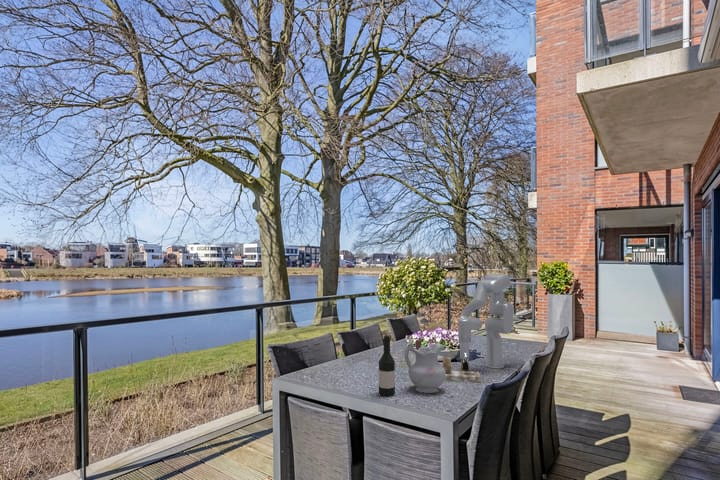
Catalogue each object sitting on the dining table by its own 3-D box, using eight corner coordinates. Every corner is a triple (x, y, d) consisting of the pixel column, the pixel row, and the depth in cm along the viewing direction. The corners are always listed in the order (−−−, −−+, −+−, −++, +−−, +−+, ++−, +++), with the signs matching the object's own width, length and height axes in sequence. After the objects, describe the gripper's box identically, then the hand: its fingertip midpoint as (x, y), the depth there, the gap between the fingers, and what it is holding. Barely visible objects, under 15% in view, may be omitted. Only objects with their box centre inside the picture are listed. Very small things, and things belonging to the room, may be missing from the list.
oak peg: (468, 373, 261) (468, 353, 261) (469, 375, 256) (469, 355, 257) (460, 372, 262) (460, 353, 262) (461, 374, 257) (461, 354, 258)
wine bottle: (377, 392, 223) (377, 334, 225) (393, 391, 224) (393, 333, 225) (379, 397, 215) (379, 336, 216) (396, 396, 215) (396, 336, 217)
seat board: (478, 376, 253) (478, 356, 253) (480, 382, 241) (480, 361, 241) (437, 374, 257) (437, 354, 258) (437, 380, 245) (437, 359, 246)
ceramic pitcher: (415, 399, 214) (418, 350, 214) (397, 386, 232) (399, 340, 231) (451, 394, 223) (453, 347, 222) (431, 382, 241) (433, 338, 240)
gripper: (457, 336, 269) (458, 364, 268) (459, 341, 252) (459, 371, 251) (470, 336, 268) (470, 364, 267) (472, 342, 251) (472, 371, 250)
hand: (465, 367), depth 259 cm, fingers open, 9 cm apart
